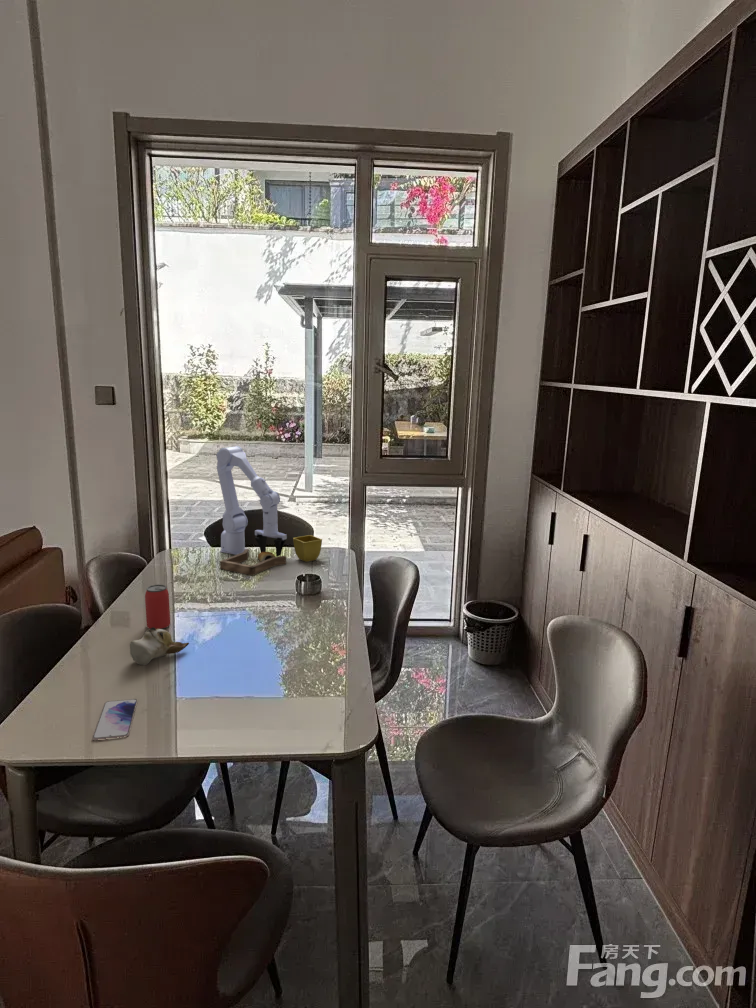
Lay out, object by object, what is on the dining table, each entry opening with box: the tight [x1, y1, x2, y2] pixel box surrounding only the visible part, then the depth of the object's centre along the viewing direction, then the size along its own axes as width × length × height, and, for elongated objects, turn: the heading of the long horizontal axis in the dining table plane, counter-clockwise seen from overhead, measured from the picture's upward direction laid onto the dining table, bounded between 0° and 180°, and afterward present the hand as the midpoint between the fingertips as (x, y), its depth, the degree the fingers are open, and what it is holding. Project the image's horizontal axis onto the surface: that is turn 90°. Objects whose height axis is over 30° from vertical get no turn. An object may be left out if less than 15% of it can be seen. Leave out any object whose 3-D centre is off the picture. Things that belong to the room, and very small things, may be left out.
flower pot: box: [292, 534, 323, 563], centre depth 245 cm, size 9×9×9 cm
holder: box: [219, 548, 287, 576], centre depth 237 cm, size 20×18×3 cm
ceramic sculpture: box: [129, 627, 190, 666], centre depth 159 cm, size 11×9×15 cm
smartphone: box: [91, 698, 138, 741], centre depth 131 cm, size 7×1×15 cm
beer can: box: [144, 584, 171, 630], centre depth 178 cm, size 7×7×12 cm
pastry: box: [257, 551, 276, 563], centre depth 244 cm, size 9×7×4 cm
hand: (270, 554), depth 247 cm, fingers open, 7 cm apart
